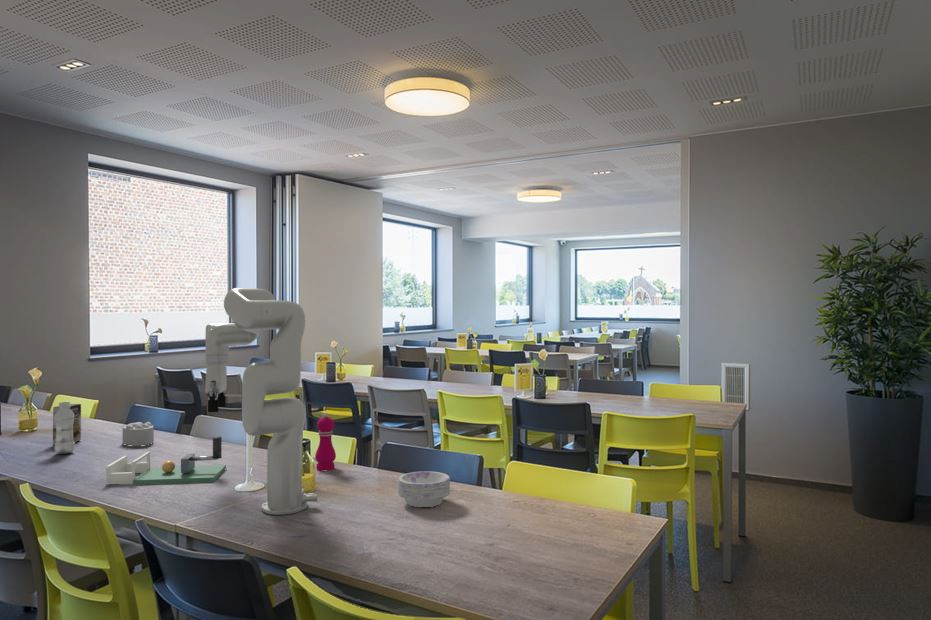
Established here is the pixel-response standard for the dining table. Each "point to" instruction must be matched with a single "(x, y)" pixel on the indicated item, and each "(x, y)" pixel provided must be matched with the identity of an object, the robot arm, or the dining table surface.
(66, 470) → the dining table surface
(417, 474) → the paper bowls
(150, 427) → the lumpy-topped squat cylinder
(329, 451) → the pepper mill
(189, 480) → the pitch board
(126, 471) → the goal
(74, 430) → the coffee box
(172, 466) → the ball
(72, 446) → the plastic bottle
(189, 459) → the grey mallet
